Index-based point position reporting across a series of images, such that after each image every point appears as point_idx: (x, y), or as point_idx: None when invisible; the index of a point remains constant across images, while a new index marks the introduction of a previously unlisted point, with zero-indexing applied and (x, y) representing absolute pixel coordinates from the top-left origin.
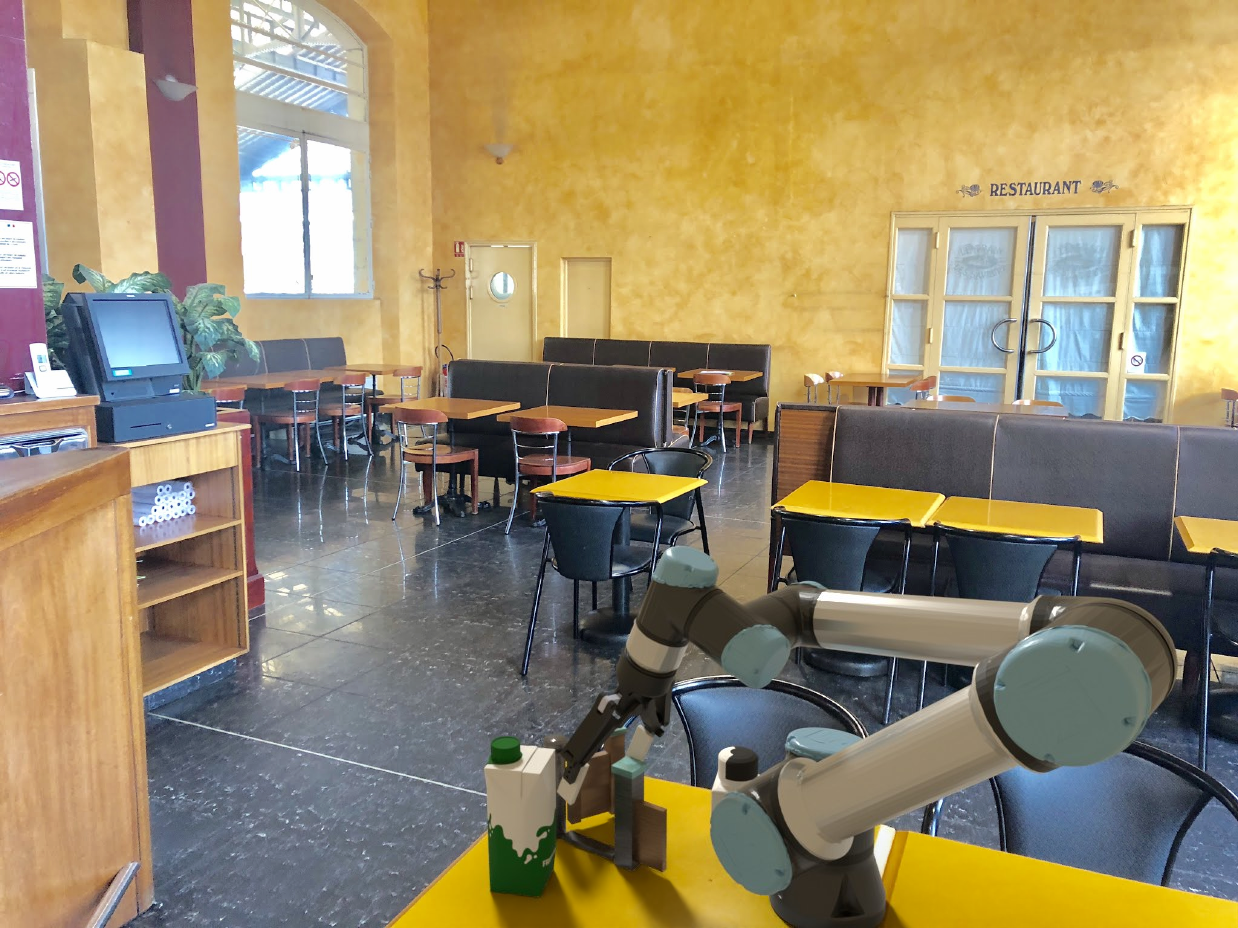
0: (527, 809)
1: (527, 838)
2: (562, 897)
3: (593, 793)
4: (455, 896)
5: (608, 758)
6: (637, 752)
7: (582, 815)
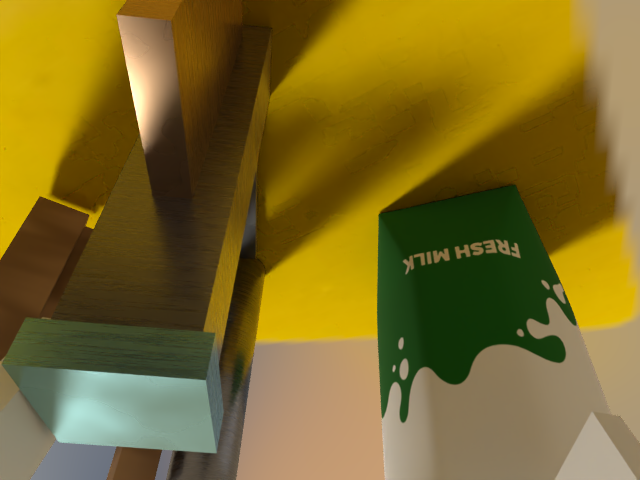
0: None
1: (582, 351)
2: (495, 140)
3: None
4: None
5: None
6: (3, 455)
7: None
